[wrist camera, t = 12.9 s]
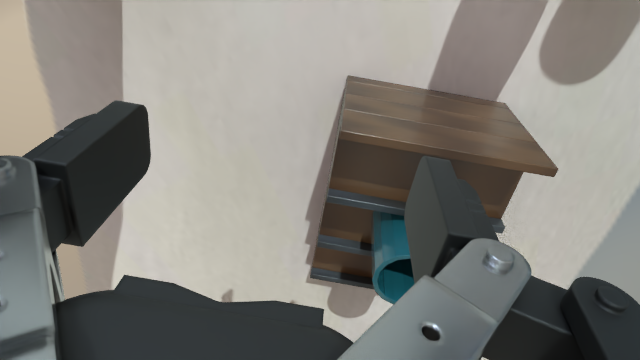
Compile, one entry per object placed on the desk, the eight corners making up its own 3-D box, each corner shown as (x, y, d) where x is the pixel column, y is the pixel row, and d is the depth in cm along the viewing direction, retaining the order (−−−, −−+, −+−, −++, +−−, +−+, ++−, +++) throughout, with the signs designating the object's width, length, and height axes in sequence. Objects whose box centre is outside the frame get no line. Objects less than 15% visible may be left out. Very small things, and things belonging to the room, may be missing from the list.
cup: (366, 235, 42) (366, 299, 34) (378, 190, 39) (381, 249, 32) (420, 245, 42) (431, 311, 34) (436, 200, 39) (453, 262, 31)
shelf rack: (312, 262, 51) (298, 349, 40) (347, 75, 38) (340, 130, 28) (431, 283, 51) (448, 376, 40) (505, 103, 38) (559, 168, 28)
